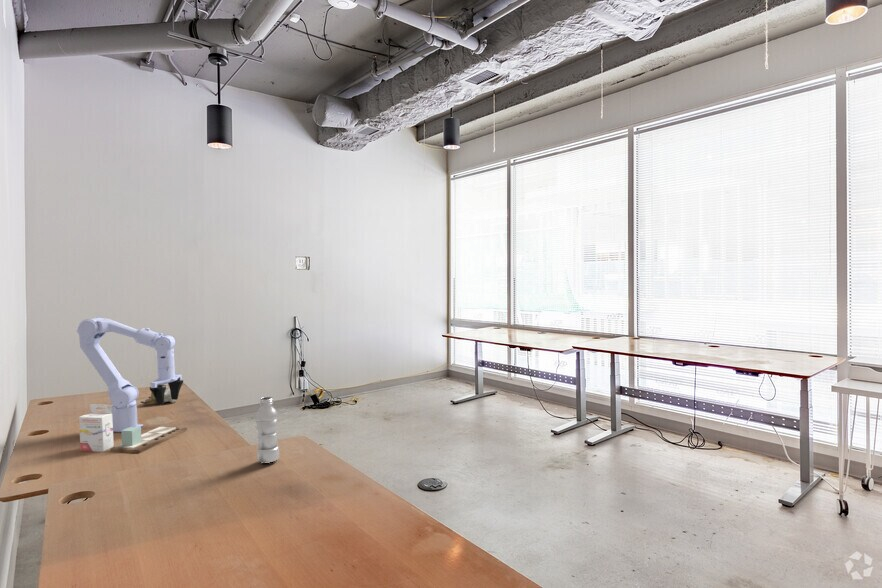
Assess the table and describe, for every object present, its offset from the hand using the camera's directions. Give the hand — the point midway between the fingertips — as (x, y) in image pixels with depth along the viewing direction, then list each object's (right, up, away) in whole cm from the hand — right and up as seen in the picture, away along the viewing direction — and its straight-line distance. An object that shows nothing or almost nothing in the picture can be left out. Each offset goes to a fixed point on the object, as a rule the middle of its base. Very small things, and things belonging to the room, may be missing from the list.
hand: (167, 402), depth 188 cm
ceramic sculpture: (-22, -8, +34) cm, 41 cm away
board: (+3, -10, -15) cm, 18 cm away
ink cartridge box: (-11, -11, -23) cm, 28 cm away
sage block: (0, -9, -22) cm, 24 cm away
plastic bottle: (+52, -11, -37) cm, 64 cm away
